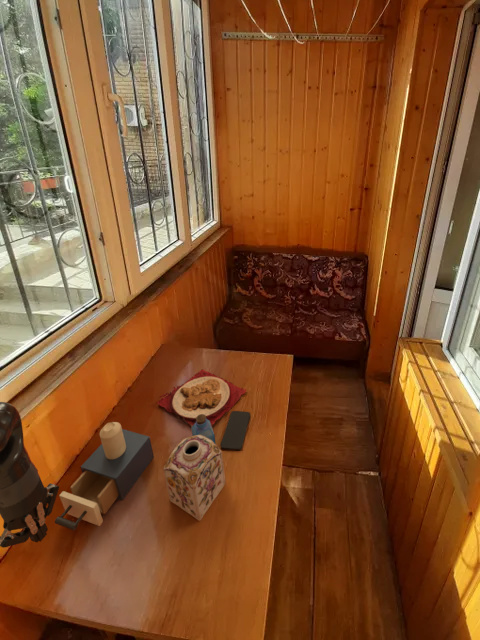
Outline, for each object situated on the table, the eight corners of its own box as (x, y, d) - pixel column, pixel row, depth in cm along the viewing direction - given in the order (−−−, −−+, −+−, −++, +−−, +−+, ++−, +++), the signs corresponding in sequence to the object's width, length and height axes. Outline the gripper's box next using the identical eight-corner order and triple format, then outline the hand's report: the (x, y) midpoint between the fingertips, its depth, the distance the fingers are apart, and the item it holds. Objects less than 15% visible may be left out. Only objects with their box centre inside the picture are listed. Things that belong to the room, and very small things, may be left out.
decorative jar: (197, 465, 98) (191, 422, 92) (227, 483, 93) (222, 438, 87) (168, 502, 88) (158, 456, 82) (199, 523, 83) (191, 477, 77)
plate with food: (204, 436, 108) (203, 429, 107) (156, 404, 120) (155, 398, 119) (247, 393, 127) (247, 386, 126) (202, 369, 139) (201, 363, 138)
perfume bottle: (193, 441, 106) (189, 414, 102) (211, 434, 109) (208, 407, 104) (197, 456, 101) (193, 429, 97) (216, 448, 103) (212, 421, 99)
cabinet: (122, 500, 89) (116, 478, 85) (87, 488, 92) (80, 466, 89) (154, 457, 101) (149, 436, 98) (122, 447, 104) (116, 427, 101)
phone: (219, 447, 103) (231, 410, 117) (219, 449, 103) (231, 412, 117) (241, 449, 102) (250, 412, 116) (241, 451, 102) (251, 413, 116)
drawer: (85, 545, 78) (79, 526, 76) (51, 530, 81) (43, 512, 78) (133, 479, 93) (129, 462, 91) (103, 469, 96) (97, 452, 94)
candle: (130, 448, 94) (123, 423, 90) (112, 463, 90) (104, 437, 86) (119, 439, 97) (113, 415, 93) (101, 453, 92) (94, 428, 89)
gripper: (34, 454, 73) (55, 502, 79) (-33, 515, 61) (-3, 567, 67) (59, 462, 71) (78, 511, 77) (-5, 527, 59) (23, 579, 65)
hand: (40, 537), depth 72 cm, fingers closed
